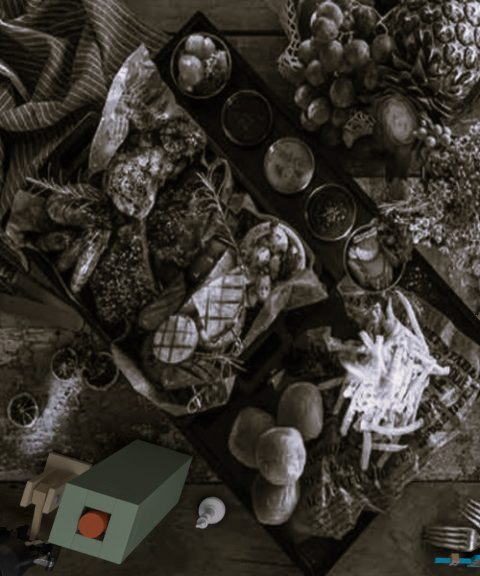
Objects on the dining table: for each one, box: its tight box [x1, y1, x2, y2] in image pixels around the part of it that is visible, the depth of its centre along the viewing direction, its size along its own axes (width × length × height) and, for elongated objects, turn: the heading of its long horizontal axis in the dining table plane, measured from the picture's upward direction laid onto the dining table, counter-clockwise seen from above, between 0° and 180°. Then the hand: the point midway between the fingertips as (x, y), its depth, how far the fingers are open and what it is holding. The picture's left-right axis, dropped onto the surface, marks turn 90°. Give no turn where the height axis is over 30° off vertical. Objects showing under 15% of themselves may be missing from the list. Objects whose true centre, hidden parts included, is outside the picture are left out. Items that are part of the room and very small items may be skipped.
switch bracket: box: [19, 451, 93, 515], centre depth 138 cm, size 9×8×12 cm
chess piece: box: [195, 496, 226, 529], centre depth 139 cm, size 5×5×10 cm
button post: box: [47, 438, 194, 565], centre depth 127 cm, size 11×9×33 cm
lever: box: [18, 483, 52, 542], centre depth 135 cm, size 12×5×2 cm, turn 163°
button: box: [79, 508, 110, 538], centre depth 111 cm, size 4×4×3 cm
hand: (41, 534), depth 140 cm, fingers closed on lever, 5 cm apart
